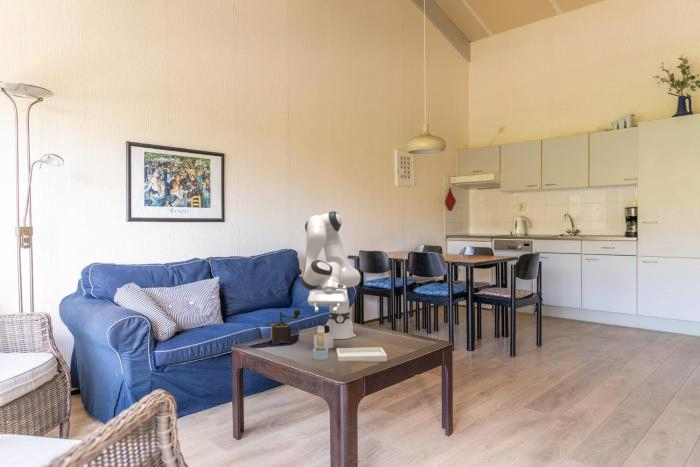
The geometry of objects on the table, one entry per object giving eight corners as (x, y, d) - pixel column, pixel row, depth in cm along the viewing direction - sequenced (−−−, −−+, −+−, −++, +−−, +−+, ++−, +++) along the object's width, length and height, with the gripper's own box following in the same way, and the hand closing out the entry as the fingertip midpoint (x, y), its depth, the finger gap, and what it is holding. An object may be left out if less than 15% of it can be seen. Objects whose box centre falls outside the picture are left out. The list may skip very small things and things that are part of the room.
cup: (312, 358, 214) (312, 347, 214) (327, 358, 215) (327, 347, 215) (313, 362, 208) (313, 351, 208) (328, 362, 208) (328, 350, 208)
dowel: (316, 357, 213) (316, 331, 213) (323, 357, 213) (323, 331, 213) (317, 359, 210) (317, 332, 210) (324, 358, 210) (324, 332, 210)
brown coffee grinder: (271, 345, 242) (271, 310, 243) (270, 340, 253) (270, 307, 253) (301, 343, 246) (301, 309, 246) (298, 339, 257) (298, 306, 257)
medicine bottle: (324, 347, 237) (324, 323, 238) (333, 349, 232) (333, 325, 232) (313, 349, 232) (313, 325, 233) (322, 351, 227) (322, 327, 227)
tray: (336, 354, 222) (336, 348, 222) (381, 353, 224) (381, 347, 224) (338, 363, 206) (338, 356, 206) (387, 362, 208) (387, 355, 208)
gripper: (309, 285, 233) (303, 307, 223) (348, 285, 229) (345, 308, 219) (311, 293, 237) (306, 315, 227) (350, 293, 233) (347, 315, 224)
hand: (325, 311), depth 223 cm, fingers open, 8 cm apart
